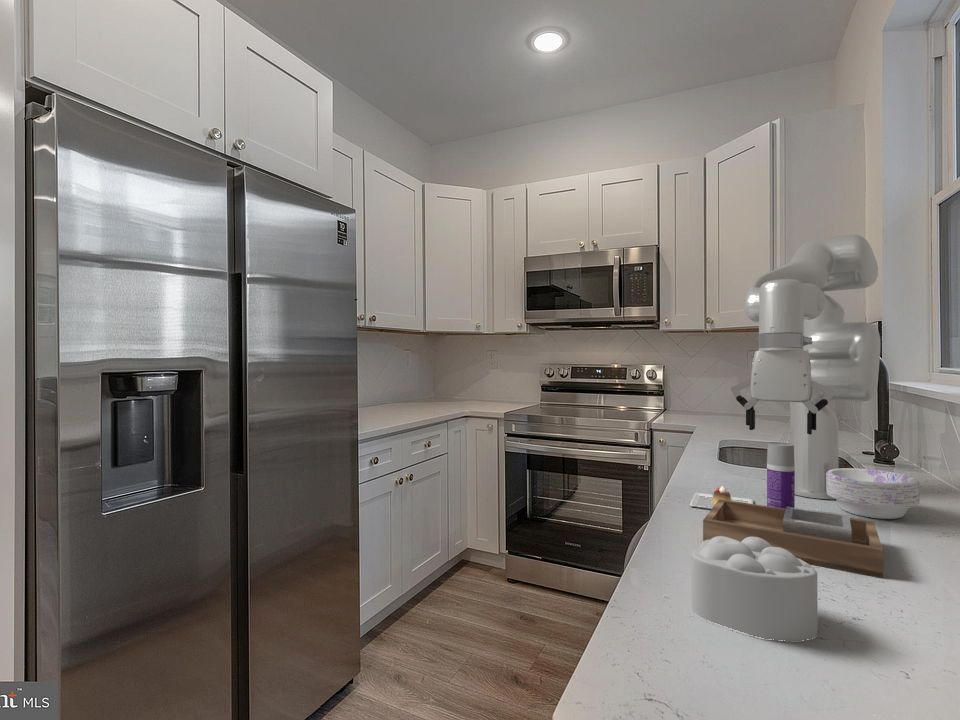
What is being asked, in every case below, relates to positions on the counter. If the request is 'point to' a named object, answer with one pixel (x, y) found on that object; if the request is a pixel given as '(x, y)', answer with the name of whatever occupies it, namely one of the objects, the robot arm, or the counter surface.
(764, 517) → the walled tray
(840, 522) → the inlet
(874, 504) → the paper bowls
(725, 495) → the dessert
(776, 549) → the lumpy-topped squat cylinder
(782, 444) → the container
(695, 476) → the counter surface
